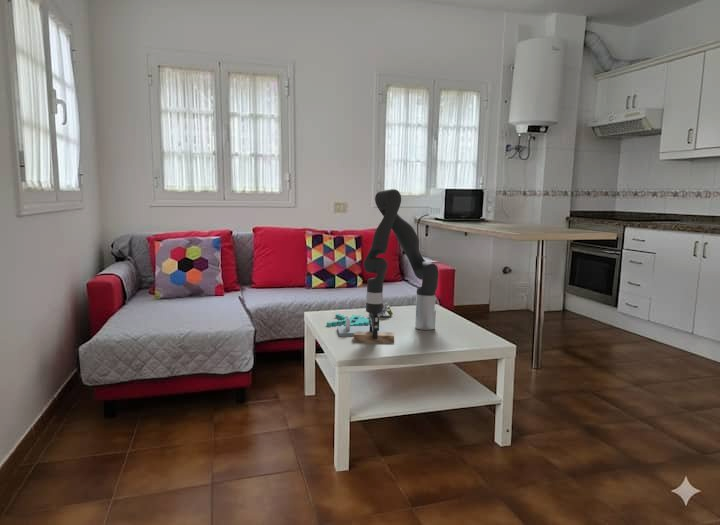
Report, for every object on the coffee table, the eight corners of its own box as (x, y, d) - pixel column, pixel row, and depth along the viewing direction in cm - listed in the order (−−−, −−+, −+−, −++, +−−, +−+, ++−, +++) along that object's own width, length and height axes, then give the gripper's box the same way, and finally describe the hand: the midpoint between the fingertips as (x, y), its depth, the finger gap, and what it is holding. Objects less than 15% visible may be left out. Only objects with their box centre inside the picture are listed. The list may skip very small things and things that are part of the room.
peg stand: (381, 328, 241) (381, 313, 240) (386, 335, 229) (386, 319, 228) (337, 329, 238) (337, 314, 237) (339, 336, 226) (339, 320, 225)
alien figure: (326, 327, 243) (365, 330, 239) (326, 323, 242) (365, 325, 239) (336, 317, 262) (372, 320, 258) (336, 313, 262) (373, 316, 258)
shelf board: (393, 339, 224) (393, 332, 223) (393, 343, 218) (394, 335, 217) (354, 338, 224) (354, 331, 224) (353, 342, 218) (354, 334, 218)
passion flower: (378, 327, 263) (366, 310, 260) (378, 319, 273) (366, 302, 270) (396, 317, 261) (383, 300, 258) (395, 309, 271) (383, 292, 268)
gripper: (385, 304, 212) (384, 340, 214) (379, 298, 226) (378, 332, 228) (368, 304, 211) (367, 341, 213) (363, 298, 225) (363, 332, 227)
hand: (373, 336), depth 221 cm, fingers open, 8 cm apart
